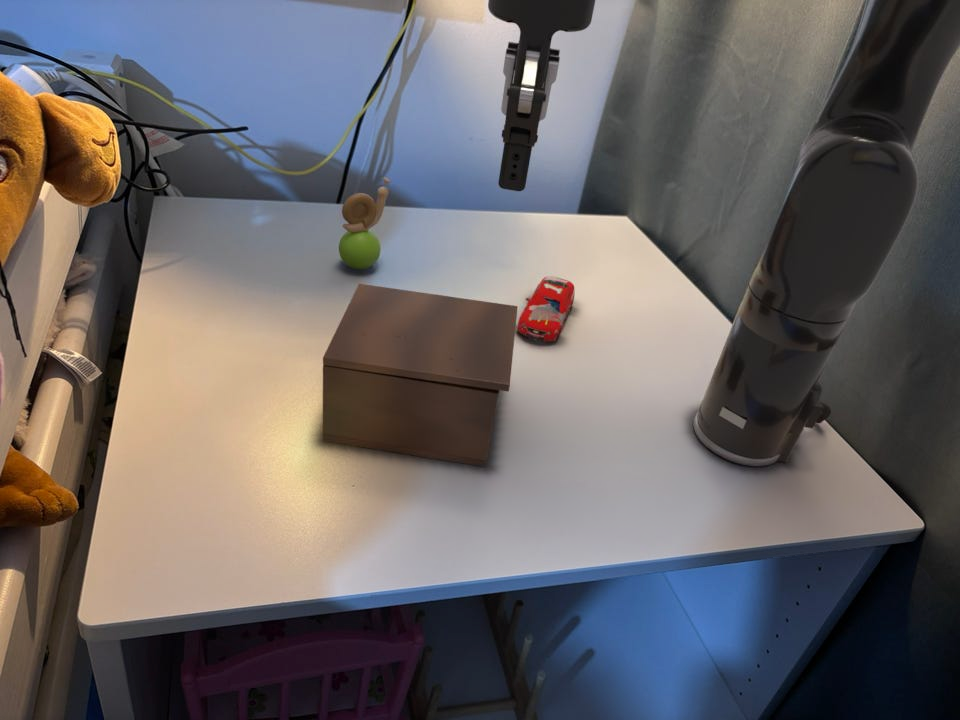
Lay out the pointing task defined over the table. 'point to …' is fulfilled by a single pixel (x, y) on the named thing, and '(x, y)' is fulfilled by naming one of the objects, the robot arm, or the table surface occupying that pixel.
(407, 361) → the lid
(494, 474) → the table surface
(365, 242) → the snail figurine
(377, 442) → the chest
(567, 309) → the race car
